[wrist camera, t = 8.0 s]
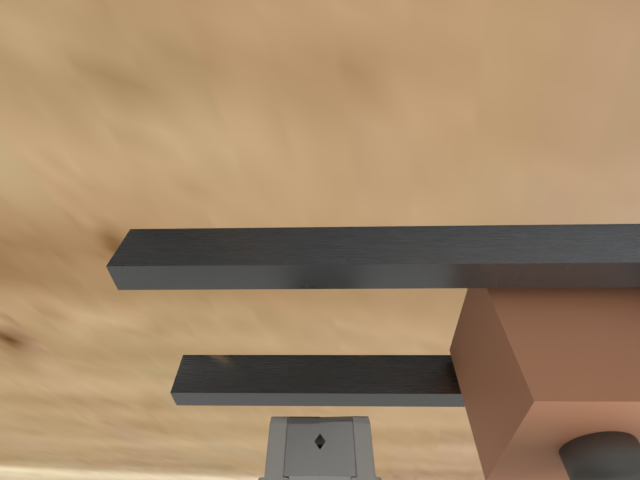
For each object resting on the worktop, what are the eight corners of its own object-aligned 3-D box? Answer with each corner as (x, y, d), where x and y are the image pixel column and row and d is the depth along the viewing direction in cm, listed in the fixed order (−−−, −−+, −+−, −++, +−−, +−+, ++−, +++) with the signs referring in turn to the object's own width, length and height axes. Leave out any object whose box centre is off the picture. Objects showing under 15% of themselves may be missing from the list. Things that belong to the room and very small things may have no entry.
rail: (188, 367, 18) (149, 490, 14) (130, 229, 13) (44, 360, 9) (609, 368, 17) (690, 497, 13) (720, 223, 12) (901, 362, 8)
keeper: (449, 349, 17) (493, 510, 12) (475, 262, 13) (548, 434, 9) (570, 350, 16) (661, 512, 12) (625, 261, 13) (777, 436, 9)
